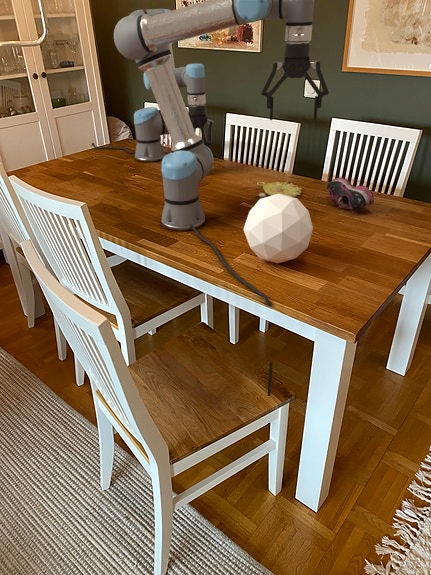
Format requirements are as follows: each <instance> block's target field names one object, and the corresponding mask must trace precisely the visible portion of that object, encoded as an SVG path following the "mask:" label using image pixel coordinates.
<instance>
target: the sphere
mask: <svg viewBox="0 0 431 575" xmlns="http://www.w3.org/2000/svg"><path fill="white" fill-rule="evenodd" d="M242 230H243V232H244V235H245V237H246V241H247V244H248V246H249V248H250V249H251V250H252V252H253V254H255V255H256V256H257V257H258V258H259V259H260V260H263V261H268V262H271V263H274V264H280V263H284V262H288V261H290V260H295V259H297V258H298V257H299V256H300V255H301V254H302V253H303V252H305V251H306V250H307V249H308V248H309V245H310V241H311V238H312V234H313V231H314V226H313V222H312V219H311V215H310V211H309V210H308V209H307V208H306V206H304V204H302V202H301V201H300V199H298V198H296V197H289V196H286V195H282V194H275V195H272V196H270V195H268V196H266V197H261V198H259V199H258V201H257V202H256V203H255V204H254V205H253V207H252V208H251V209H250V210H249V211H248V215H247V218H246V220H245V224H244V227H243V229H242Z"/></svg>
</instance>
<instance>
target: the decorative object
mask: <svg viewBox="0 0 431 575" xmlns="http://www.w3.org/2000/svg"><path fill="white" fill-rule="evenodd" d="M256 186H261V187H262V190H263V191H264V192H261V193H259V194H258V197H259V198H265V197H267V195H268V196H272V195H275V194H282V195H286V196H289V197H293V198H296V197H298V196H301V193H302V188H301V187H299V185H294V183H292V182H291V183H289V181H288V180H286V181H282V182H279V181H275V182H273V181H272V182H270V183H269V182H264V181H258V182H257V183H256Z"/></svg>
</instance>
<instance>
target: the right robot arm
mask: <svg viewBox="0 0 431 575" xmlns="http://www.w3.org/2000/svg"><path fill="white" fill-rule="evenodd" d="M314 10H315V0H205V1H201V2H198V3H194V4H193V3H192V4H189V5H187V6H183V7H180V8H176V9H173V10H170V11H169V12H165V13H162V14H158V15H155V16H152V15H148V14H143V15H138V16H129V15H127V16H125V17H122V18H121V19H119V21H118V22H117V23H116V25H115V27H114V29H113V42H114V46H115V47H116V49H117V51H118V52H119V54H121V55H122V56H123V57H124V58H126V59H128V60H132V61H135V63H136V65H137V68H138V69H139V70H140V71H143V73H144V72H145V73H146V76H147V78H148V81H149V83H150V86H151V88H152V90H151V91H152V93H153V96H154V99H155V101H156V103H157V106H158V110H160V111H161V114H162V116H163V119H164V122H165V124H166V127H167V129H168V132H169V134H168V135H169V137H170V139H171V141H172V146H171V148H170V151H171V152H170V153H167V154H165V157H164V158H163V159H162V160H161V176H162V184H163V194H164V204H163V209H162V213H161V219H160V220H161V225H162V227H163V228H165V229H167V230H170V231H175V232H176V231H177V232H185V231H186V232H187V231H192V230H193V231H194V233H195V234H196V236H197V237H198V238H199V239H200V240H202V241H203V242H205V243H207V244H208V245H209V246H210V247H211V248H212V249H213V250H214V252H215V254H216V256H217V257H218V258H219V260H220V262H221V263H222V264H223V265H224V267H225V268H226V269H227V270H228V271H229V272H230V274H231V275H233V276H234V277H235V278H236V279H237V280H238V281H239V282H241V283H242V284H243V285H245V286H246V287H247V288H249V289H250V290H252V291H253V292H255V293H256V294H257V295H259V296H260V297H262V298H263V300H264V301H265V303H266V306H267V307H271V306H272V304H271V302H270V299H269V298H268V296H267V295H266V294H265V293H263V292H262V291H260V290H259V289H258V288H257V287H255V286H253V285H252V284H250V283H249V282H248V281H246V280H245V279H244V278H242V277H241V276H240V275H239V274H238V273H236V272H235V271H234V270H233V269H232V267H230V266H229V264H228V263H227V261H226V260H225V258H224V257H223V255H221V253H220V251H219V250H218V248H217V246H216V245H215V244H214V243H212V242H211V241H210V240H208V239H206V238H204V236H202V235H201V233H199V231H198V230H197V229H198V228H201V227H202V226H203V225H204V224H205V223H206V216H205V212H204V210H203V208H202V204H201V201H200V196H199V184H200V183H201V182H202V181H203V180H204V179H206V177H208V176H209V174H210V173H211V171H212V169H213V166H214V161H215V160H214V155H213V152H212V150H211V148H209V146H208V147H207V146H205V145H204V143H203V137H202V136H200V135H197V134H196V130H195V131H194V128H193V125H192V123H191V120H190V117H189V114H188V112H187V109H188V108H187V107H186V103H185V101H184V99H183V96H182V93H181V90H180V88H179V87H178V85H177V82H176V79H175V76H174V74H173V71H172V68H171V65H170V59H171V56H172V54H171V52H170V49H169V44H170V43H173V42H174V43H177V42H182V41H184V40H189V39H192V38H196V37H199V36H204V35H208V34H211V33H212V34H213V33H215V32H219V31H223V30H227V29H231V28H234V27H238V26H243V25H248V24H251V23H255V22H259V21H265V20H268V21H269V20H285V28H284V29H285V32H284V41H285V42H286V43H285V44H284V49H283V50H284V51H283V60H282V62H280V61H276V60H275V61H273V62H272V68H271V71H270V73H269V76H268V77H267V79H266V82H265V83H264V86H263V88H262V90H261V94H260V95H261V96H264V97H266V108H267V109H270V110H269V111H270V112H269V121H273V117H274V116H273V115H274V96H273V95H274V94H275V92H277V90H278V89H279V88H280V87H281V85H282V84H283V83H284V82H285V80H287V78H290V79H295V78H297V79H302V78H303V77H304V78H305V80H306V81H307V82H308V84H309V86H311V88H312V90H313V91H314V92H315V93H316V95H315V96H314V103H313V105H314V106H313V116H312V118H313V121H317V116H318V109H321V108H322V102H323V97H325V96H327V95H329V93H330V92H329V88H328V86H327V83H326V81H325V78H324V75H323V73H322V70H321V61H319V59H318V60H315V61H311V48H312V45H311V43H310V42H311V41H312V34H313V33H312V32H313V20H314ZM174 43H173V44H174ZM311 67H312V69H313V70H315V72H316V74H317V78H318V80H319V83H320V86H321V89H322V90H320V88H319V87H318V86H317V84H316V82H315V81H314V80H313V78H312V77H311V76H310V74H309V73H308V71H309V70H310V68H311ZM281 68H282V69H283V71H284V72H283V73H282V75H281V76H280V77H279V78H278V80H277V81H276V82H275V83H274V85H272V87H271V88H270V86H271V84H272V81H273V79H274V78H275V75H276V73H277V71H279V70H280V69H281ZM269 88H270V90H269ZM186 108H187V109H186ZM273 365H274V362H272V361H271V362H269V367H268V368H269V369H268V383H267V385H268V386H267V396H270V395H272V385H273V384H272V382H273V368H274V366H273ZM265 426H266V427H269V426H270V422H269V423H268V424H267V425H266V424H265Z"/></svg>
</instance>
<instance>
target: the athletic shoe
mask: <svg viewBox="0 0 431 575" xmlns="http://www.w3.org/2000/svg"><path fill="white" fill-rule="evenodd" d="M326 190H327V192H328V195H329V196H325V198H326V199H327V200H332V202H333V203H334V204H335V206H338V207H339V208H340V209H344V210H350V211H357V210H359V209H361V208H365V207H368V206H370V205H373V204H374V202H375V200H374V199H375V198H374V194H373V191H372V190H371V189H369V187H368V186H366V185H361V184H360V185H353V184H352V182H350V180H348V179H347V178H345V177H336V178H334V179H332V180H330V181H329V182H328V183H327V185H326Z"/></svg>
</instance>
